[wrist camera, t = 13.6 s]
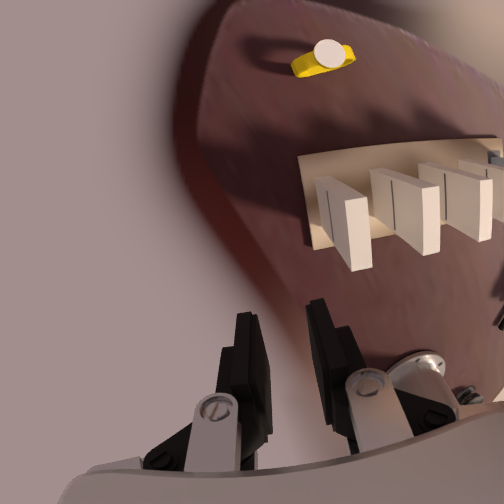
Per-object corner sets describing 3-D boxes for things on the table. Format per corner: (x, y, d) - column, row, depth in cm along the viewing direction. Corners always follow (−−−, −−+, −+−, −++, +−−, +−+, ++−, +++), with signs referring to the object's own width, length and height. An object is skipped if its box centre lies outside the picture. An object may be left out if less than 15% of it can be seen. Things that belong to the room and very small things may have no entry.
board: (499, 210, 30) (503, 212, 30) (312, 247, 33) (313, 250, 32) (497, 137, 27) (502, 138, 26) (297, 156, 29) (298, 156, 28)
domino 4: (467, 158, 28) (530, 174, 17) (468, 200, 29) (528, 228, 19) (457, 159, 28) (521, 175, 17) (459, 202, 30) (519, 231, 19)
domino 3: (429, 162, 28) (492, 179, 18) (432, 207, 30) (491, 238, 20) (417, 163, 28) (479, 180, 18) (420, 209, 30) (478, 242, 20)
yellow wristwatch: (296, 86, 27) (301, 77, 21) (286, 63, 26) (288, 48, 21) (350, 72, 26) (366, 60, 20) (340, 49, 25) (353, 33, 19)
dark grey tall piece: (448, 401, 44) (472, 445, 33) (470, 381, 42) (497, 423, 31) (459, 407, 45) (480, 447, 34) (479, 388, 43) (504, 427, 32)
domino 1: (329, 175, 29) (367, 196, 19) (336, 224, 31) (372, 267, 21) (313, 178, 29) (343, 200, 19) (321, 227, 31) (351, 271, 21)
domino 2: (383, 167, 29) (439, 185, 18) (387, 214, 30) (440, 251, 20) (368, 169, 29) (421, 188, 19) (374, 217, 31) (422, 255, 20)
